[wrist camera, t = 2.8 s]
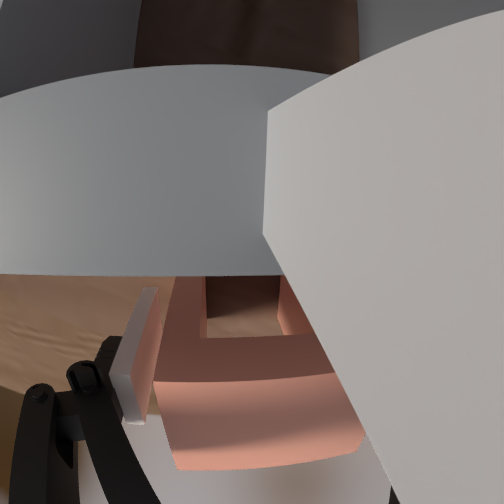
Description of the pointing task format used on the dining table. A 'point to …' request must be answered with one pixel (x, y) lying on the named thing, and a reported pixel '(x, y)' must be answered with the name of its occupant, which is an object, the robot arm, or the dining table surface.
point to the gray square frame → (290, 201)
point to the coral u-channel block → (248, 390)
